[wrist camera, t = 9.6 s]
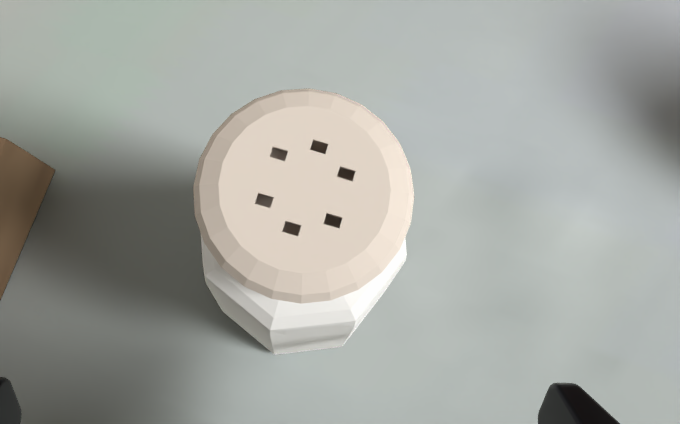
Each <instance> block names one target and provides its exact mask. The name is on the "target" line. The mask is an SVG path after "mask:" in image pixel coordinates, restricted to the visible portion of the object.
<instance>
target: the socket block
mask: <svg viewBox="0 0 680 424" xmlns="http://www.w3.org/2000/svg"><path fill="white" fill-rule="evenodd" d="M54 172H55V169H53V168H52V167H50V166H48V165H47V164H45V163H44V162H42V161H40V160H39V159H37V158H36V157H34V156H32V155H31V154H29V153H28V152H26V151H25V150H23V149H21V148H20V147H18V146H17V145H15V144H13V143H12V142H10V141H9V140H7V139H4V138H1V137H0V300H1V297H2V295H3V293H4V290H5V288H6V285H7V283H8V281H9V278H10V276H11V274H12V271H13V269H14V267H15V264H16V262H17V259H18V257H19V255H20V252H21V250H22V248H23V245H24V243H25V240H26V238H27V236H28V233H29V231H30V229H31V226H32V224H33V222H34V219H35V217H36V214H37V212H38V210H39V207H40V205H41V203H42V200H43V198H44V196H45V193H46V191H47V188H48V186H49V184H50V181H51V179H52V177H53V174H54Z"/></svg>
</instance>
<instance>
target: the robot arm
mask: <svg viewBox="0 0 680 424" xmlns="http://www.w3.org/2000/svg"><path fill="white" fill-rule="evenodd" d="M20 422H21V408H20V405H19V403H18V400H17V398H16V395H15V392H14V390H13V387H12V385H11V382H10V381H9V380H8V379H7V378H5V377H0V424H20ZM538 424H620V423H619V422H618V421H617V420H615V419H614V418H613V417H612V416H611V415H610V414H609V413H608V412H607V411H606V410H605V409H604V408H602V407H601V406H600V405H599V404H598V403H597V402H596V401H595V400H594V399H593V398H592V397H591V396H589V395H588V394H587V393H586V392H585V391H584V390H583V389H582V388H581V387H580V386H578V385H576V384H574V383H553V384H552V385H551V386H550V387H549V389H548V391H547V393H546V396H545V398H544V401H543V403H542V406H541V408H540V410H539V414H538Z"/></svg>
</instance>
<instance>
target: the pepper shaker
mask: <svg viewBox="0 0 680 424" xmlns="http://www.w3.org/2000/svg"><path fill="white" fill-rule="evenodd" d="M193 193H194V209H195V218H196V221H197V223H198V226H199V229H200V232H201V246H202V262H203V269H204V276H205V282H206V284H207V286H208V288H209V289H210V291H211V293H212V294H213V296H214V298H215V299H216V301H217V303H218V305H219V306H220V308H221V310H222V311H223V312H224V313H225V314H226V315H228V316H229V317H230V318H231V319H232V320H233V321H235V322H236V323H237V324H238V325H239V326H241V327H242V328H243V329H244V330H245V331H247V332H248V333H249V334H250V335H251V336H253V337H254V338H255V339H256V340H257V341H259V342H260V343H261V344H262V345H263V346H265V347H266V348H267V349H268V350H269V351H271V352H272V353H273V354H274V355H276V354H285V353H293V352H302V351H311V350H319V349H328V348H337V347H342V346H343V345H344V343H345V342H346V341H347V340H348V338H349V337H350V336H351V334H352V333H353V332H354V331H355V329H356V328H357V327H358V325H359V324H360V323H361V322H362V320H363V319H364V318H365V316H366V315H367V314H368V313H369V311H370V310H371V309H372V307H373V306H374V305H375V304H376V302H377V301H378V300H379V298H380V297H381V296H382V295H383V293H384V292H385V290H386V289H387V287H388V286H389V284H390V283H391V281H392V280H393V279H394V277H395V276H396V274H397V273H398V271H399V270H400V268H401V267H402V265H403V264H404V262H405V260H406V256H407V252H406V241H405V236H406V234H407V231H408V229H409V227H410V224H411V218H412V210H413V202H414V190H413V183H412V176H411V169H410V166H409V164H408V162H407V159H406V157H405V154H404V152H403V150H402V147H401V145H400V143H399V142H398V140H397V139H396V138H395V136H394V135H393V134H392V132H391V131H390V130H389V129H388V127H387V126H386V125H385V123H384V122H383V121H382V120H381V119H379V118H378V117H377V116H375V115H374V114H373V113H372V112H370V111H369V110H368V109H367V108H365V107H364V106H363V105H361V104H359V103H357V102H355V101H352V100H350V99H348V98H346V97H343V96H341V95H339V94H337V93H332V92H326V91H320V90H315V89H295V90H281V91H278V92H275V93H272V94H269V95H266V96H263V97H260V98H257V99H254V100H253V101H251V102H250V103H248V104H246V105H245V106H243V107H242V108H240V109H239V110H237V111H235V112H234V113H232V114H231V115H230V116H229V117H228V118H227V119H226V120H225V121H224V123H223V124H222V125H221V126H220V127H219V128H218V129H217V130H216V131H215V132H214V133H213V134H212V136H211V138H210V140H209V142H208V144H207V146H206V148H205V150H204V151H203V153H202V155H201V157H200V159H199V163H198V167H197V172H196V177H195V181H194V186H193Z"/></svg>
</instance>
